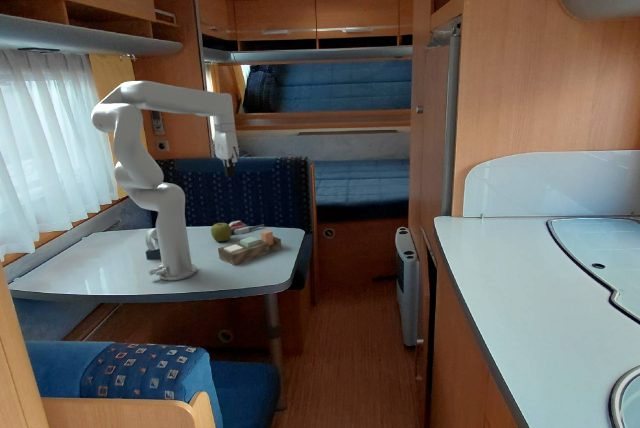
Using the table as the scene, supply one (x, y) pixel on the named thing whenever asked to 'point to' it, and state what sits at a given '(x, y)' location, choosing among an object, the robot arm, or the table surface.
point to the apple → (221, 232)
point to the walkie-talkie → (241, 227)
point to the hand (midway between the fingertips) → (230, 176)
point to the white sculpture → (152, 250)
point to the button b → (249, 241)
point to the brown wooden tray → (248, 251)
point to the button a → (233, 248)
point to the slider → (267, 237)
